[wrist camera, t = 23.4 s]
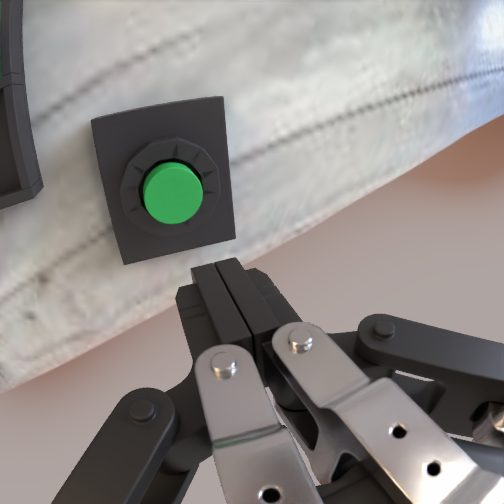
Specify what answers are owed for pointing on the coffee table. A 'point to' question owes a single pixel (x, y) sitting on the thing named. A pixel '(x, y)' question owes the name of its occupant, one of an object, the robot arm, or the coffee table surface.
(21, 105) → the compartment tray
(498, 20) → the coffee table surface
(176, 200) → the button
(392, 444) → the robot arm
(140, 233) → the control box
